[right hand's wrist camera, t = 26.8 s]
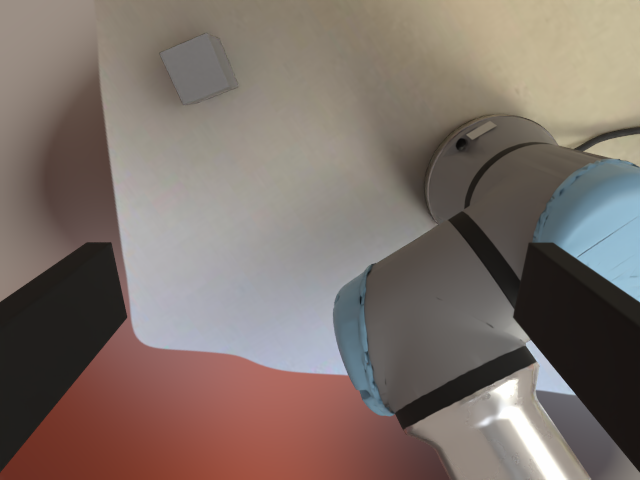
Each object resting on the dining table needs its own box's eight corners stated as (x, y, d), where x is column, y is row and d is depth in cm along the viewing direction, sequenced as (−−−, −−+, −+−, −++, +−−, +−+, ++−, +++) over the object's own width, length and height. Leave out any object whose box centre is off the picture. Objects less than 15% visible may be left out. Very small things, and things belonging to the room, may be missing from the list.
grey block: (219, 38, 41) (206, 32, 36) (239, 86, 43) (229, 86, 38) (176, 56, 42) (158, 52, 37) (197, 103, 43) (183, 105, 39)
